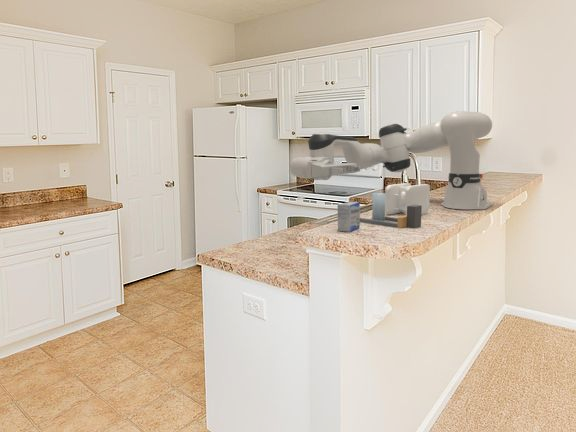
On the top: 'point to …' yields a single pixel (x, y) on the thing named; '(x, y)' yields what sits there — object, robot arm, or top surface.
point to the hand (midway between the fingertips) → (351, 170)
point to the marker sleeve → (378, 206)
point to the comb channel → (401, 219)
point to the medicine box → (348, 216)
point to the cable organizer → (406, 197)
